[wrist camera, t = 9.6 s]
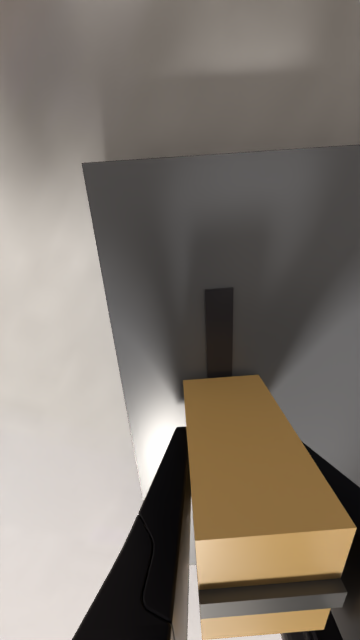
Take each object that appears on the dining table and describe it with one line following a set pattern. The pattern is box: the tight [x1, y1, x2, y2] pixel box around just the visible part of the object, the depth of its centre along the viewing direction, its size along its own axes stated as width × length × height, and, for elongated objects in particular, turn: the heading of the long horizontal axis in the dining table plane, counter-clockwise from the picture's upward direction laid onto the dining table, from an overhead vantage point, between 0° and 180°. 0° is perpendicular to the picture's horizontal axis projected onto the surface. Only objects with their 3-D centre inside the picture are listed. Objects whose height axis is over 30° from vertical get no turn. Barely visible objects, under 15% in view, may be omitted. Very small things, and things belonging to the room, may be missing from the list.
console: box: [82, 145, 360, 565], centre depth 11 cm, size 21×18×3 cm
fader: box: [183, 375, 357, 640], centre depth 7 cm, size 4×3×5 cm
